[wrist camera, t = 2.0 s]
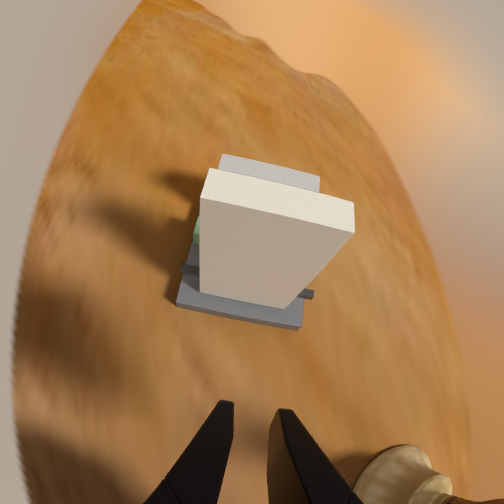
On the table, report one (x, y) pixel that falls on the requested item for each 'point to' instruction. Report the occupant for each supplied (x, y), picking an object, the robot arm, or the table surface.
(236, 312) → the gauge base
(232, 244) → the cream block
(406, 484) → the hand bell
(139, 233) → the table surface
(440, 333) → the table surface
